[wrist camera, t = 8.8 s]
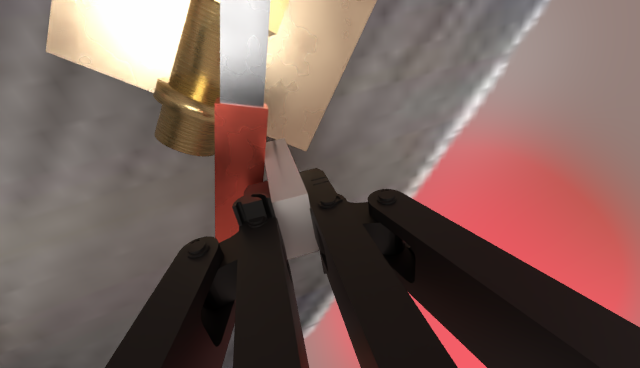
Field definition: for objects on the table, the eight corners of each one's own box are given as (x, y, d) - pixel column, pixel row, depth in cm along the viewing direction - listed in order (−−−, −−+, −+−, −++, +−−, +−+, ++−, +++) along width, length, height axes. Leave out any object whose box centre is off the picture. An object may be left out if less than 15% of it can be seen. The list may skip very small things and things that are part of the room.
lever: (200, -178, 9) (192, -218, 8) (296, -141, 10) (306, -171, 8) (208, 239, 16) (205, 258, 14) (264, 237, 17) (266, 255, 15)
